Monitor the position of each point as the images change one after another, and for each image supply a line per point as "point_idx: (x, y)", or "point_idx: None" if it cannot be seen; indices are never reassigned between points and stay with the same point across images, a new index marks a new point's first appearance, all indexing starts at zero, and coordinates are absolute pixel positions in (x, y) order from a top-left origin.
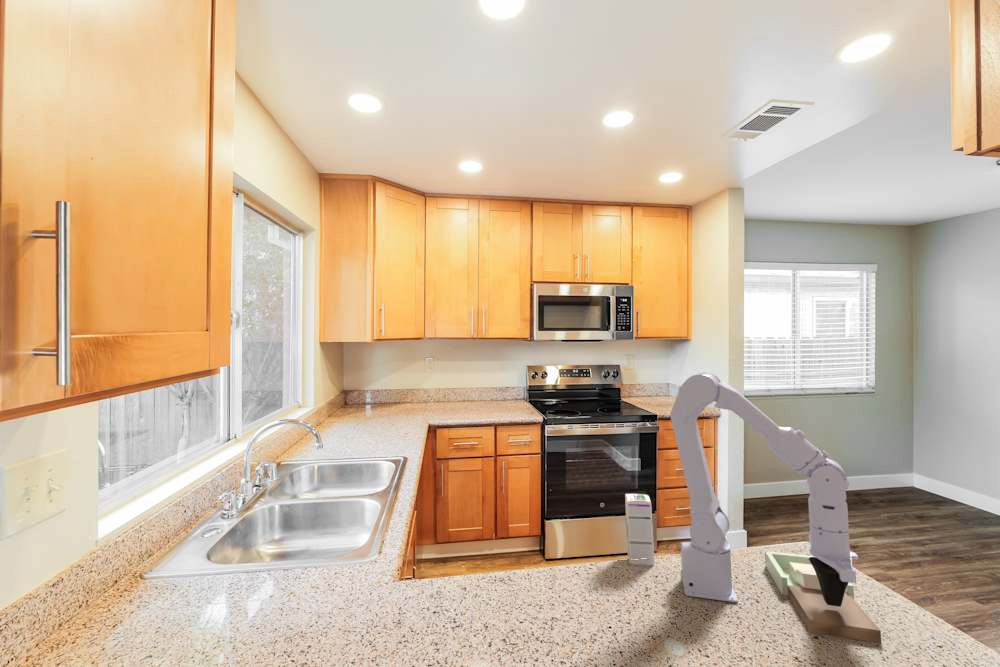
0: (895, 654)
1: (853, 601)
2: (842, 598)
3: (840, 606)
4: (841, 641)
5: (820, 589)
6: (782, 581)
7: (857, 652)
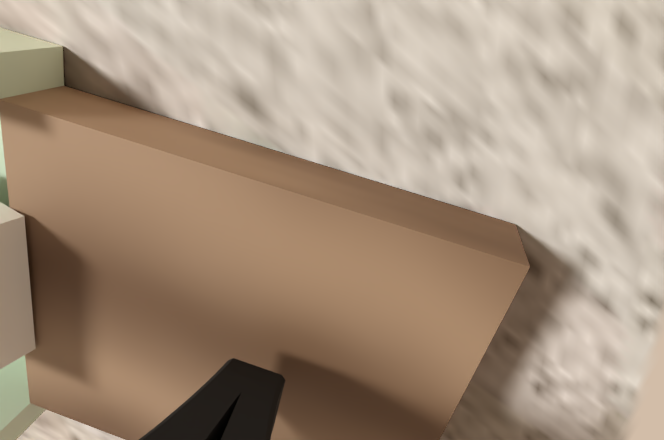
0: (642, 231)
1: (128, 152)
2: (271, 426)
3: (283, 377)
4: (473, 410)
5: (28, 278)
6: (16, 433)
7: (575, 410)
